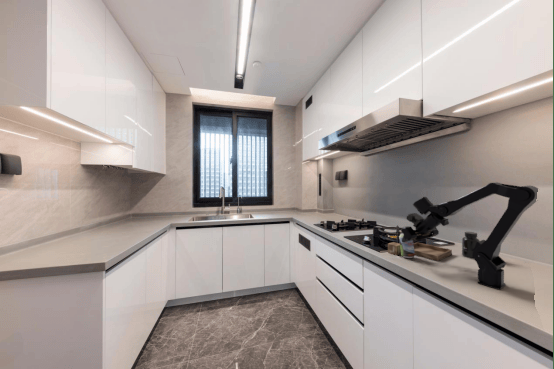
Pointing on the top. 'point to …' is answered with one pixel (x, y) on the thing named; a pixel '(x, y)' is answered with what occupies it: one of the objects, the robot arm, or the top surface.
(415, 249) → the tray
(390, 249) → the letter block
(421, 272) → the top surface
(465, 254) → the supplement bottle
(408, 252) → the beverage can
